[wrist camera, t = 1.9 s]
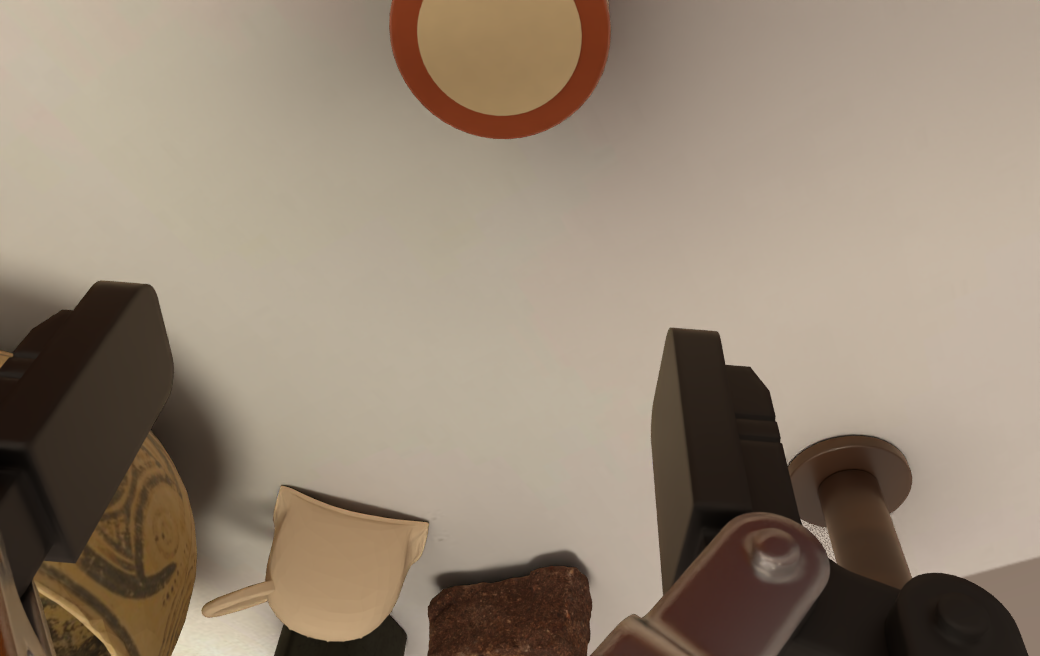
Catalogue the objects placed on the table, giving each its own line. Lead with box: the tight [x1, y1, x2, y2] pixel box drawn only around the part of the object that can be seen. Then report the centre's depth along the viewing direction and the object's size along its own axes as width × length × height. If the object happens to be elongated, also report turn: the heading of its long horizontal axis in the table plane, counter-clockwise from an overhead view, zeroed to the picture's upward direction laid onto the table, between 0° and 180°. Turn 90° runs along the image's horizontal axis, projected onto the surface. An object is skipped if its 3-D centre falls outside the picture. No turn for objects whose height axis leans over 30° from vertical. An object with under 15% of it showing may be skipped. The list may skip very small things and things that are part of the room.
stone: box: [427, 566, 592, 656], centre depth 40 cm, size 8×3×5 cm, turn 114°
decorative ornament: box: [202, 486, 429, 642], centre depth 38 cm, size 4×8×5 cm, turn 71°
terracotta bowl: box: [389, 0, 611, 139], centre depth 23 cm, size 5×5×4 cm
